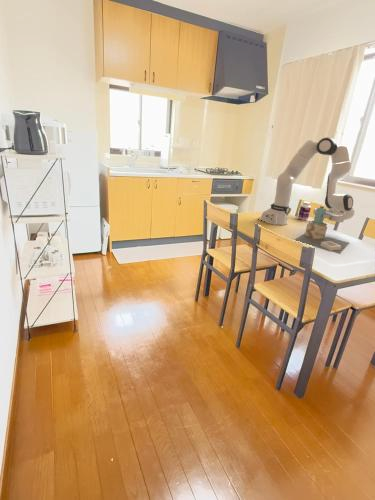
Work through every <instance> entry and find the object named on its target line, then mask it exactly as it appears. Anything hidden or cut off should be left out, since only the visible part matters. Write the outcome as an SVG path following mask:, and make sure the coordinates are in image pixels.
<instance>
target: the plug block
mask: <svg viewBox="0 0 375 500" xmlns="http://www.w3.org/2000/svg"><path fill="white" fill-rule="evenodd" d="M316 208H317V210H316V214H315V215H314V219H313V221H314V223H317V224H322V223H324V220H325V218H322V215H325V212H326V210H327V207H325V206H322V205H320V206H318V207H316Z"/></svg>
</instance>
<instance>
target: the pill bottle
mask: <svg viewBox="0 0 375 500" xmlns="http://www.w3.org/2000/svg"><path fill="white" fill-rule="evenodd" d="M311 208H312V206H311V202H310V201H303V202H302V204H301V205H300V207H299V212H298V216H297V218H298V220H301V221H302V220H303V221H308V220H309V216H310V212H311Z"/></svg>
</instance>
